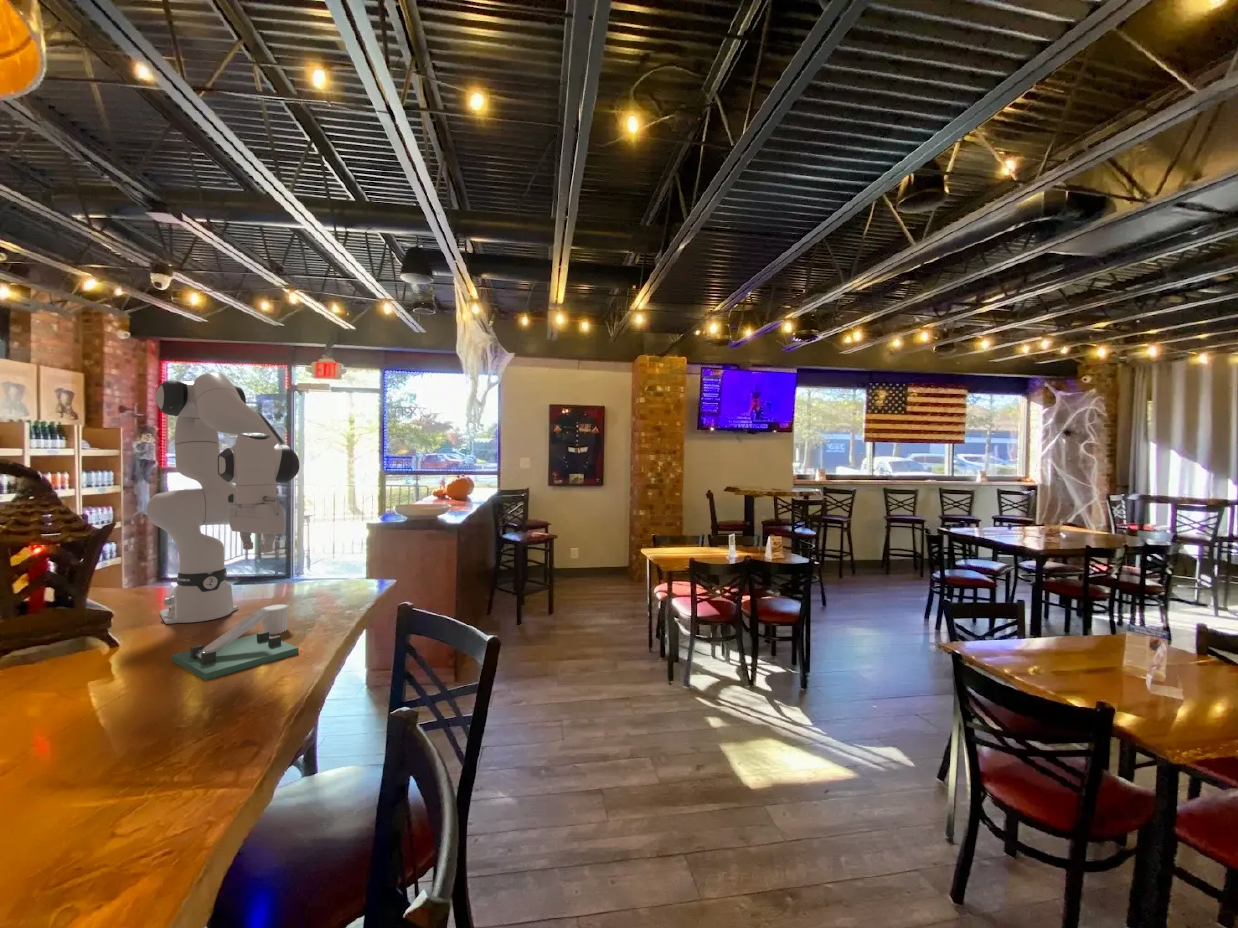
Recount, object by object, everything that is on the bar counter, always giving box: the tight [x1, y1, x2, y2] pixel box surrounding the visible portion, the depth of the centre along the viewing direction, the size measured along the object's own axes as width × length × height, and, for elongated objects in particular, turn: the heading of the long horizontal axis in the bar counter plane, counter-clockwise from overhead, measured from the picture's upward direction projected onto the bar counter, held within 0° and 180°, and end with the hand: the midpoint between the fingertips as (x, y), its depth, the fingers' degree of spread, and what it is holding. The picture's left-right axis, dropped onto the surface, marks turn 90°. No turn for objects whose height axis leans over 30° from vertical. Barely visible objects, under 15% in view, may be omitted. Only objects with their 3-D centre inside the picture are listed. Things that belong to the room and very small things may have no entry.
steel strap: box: [195, 607, 270, 659], centre depth 139 cm, size 4×16×2 cm, turn 146°
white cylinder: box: [260, 603, 290, 636], centre depth 159 cm, size 7×7×7 cm
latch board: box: [171, 630, 299, 681], centre depth 139 cm, size 20×20×4 cm
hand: (257, 550), depth 143 cm, fingers open, 8 cm apart
